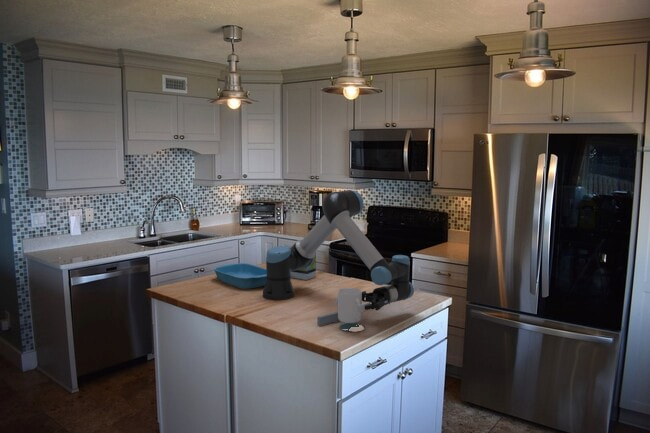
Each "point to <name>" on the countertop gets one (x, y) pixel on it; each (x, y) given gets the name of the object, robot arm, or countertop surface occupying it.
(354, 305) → the mug
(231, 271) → the casserole dish
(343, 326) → the pad
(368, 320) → the countertop surface
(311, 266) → the tea box
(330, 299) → the countertop surface
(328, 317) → the wall
